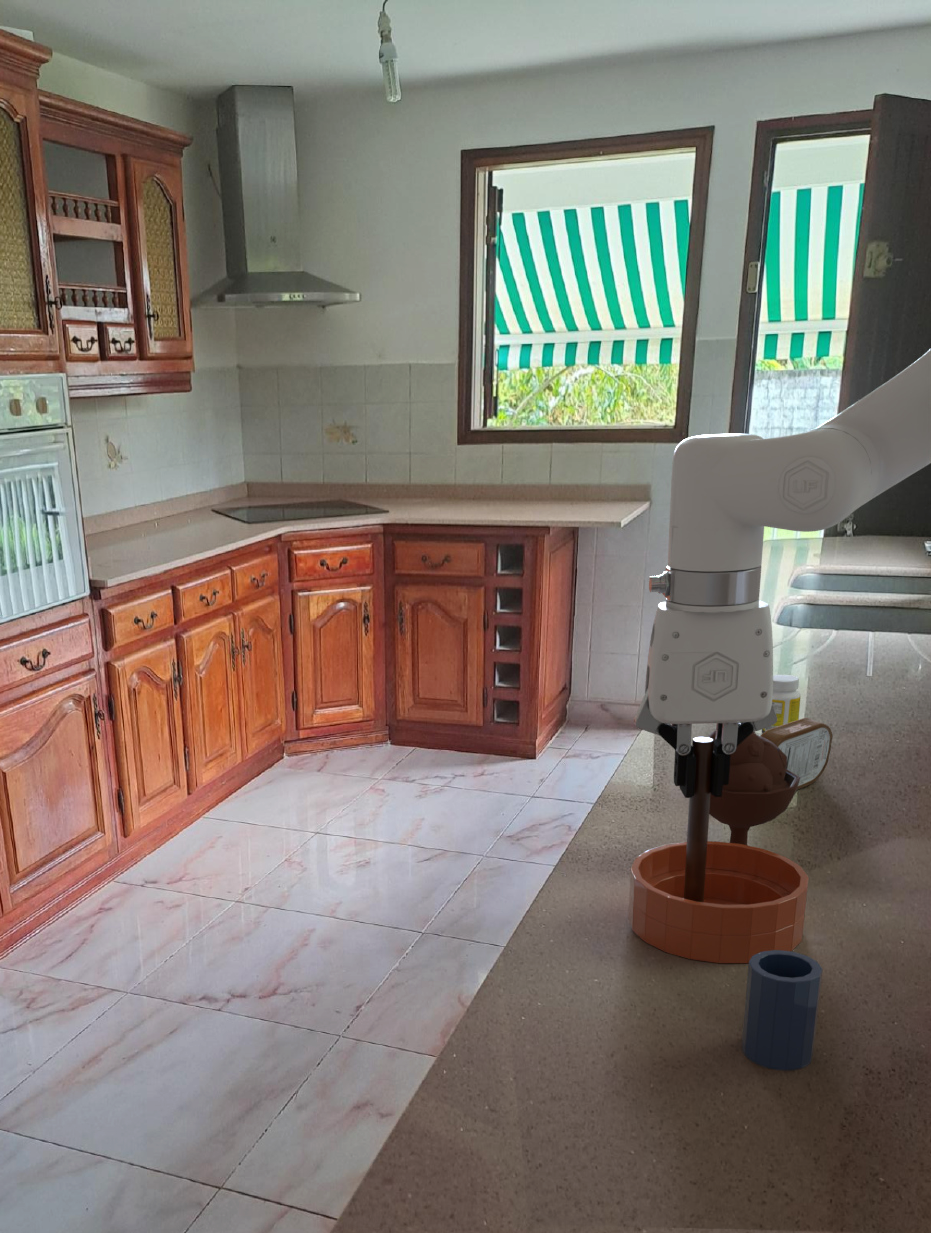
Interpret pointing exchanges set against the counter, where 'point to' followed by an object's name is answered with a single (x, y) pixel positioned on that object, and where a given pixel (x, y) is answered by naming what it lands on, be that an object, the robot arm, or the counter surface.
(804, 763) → the tin
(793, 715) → the supplement bottle
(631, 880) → the mixing bowl
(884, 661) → the counter surface
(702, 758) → the stirring stick
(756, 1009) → the utensil pot
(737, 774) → the ice cream bowl
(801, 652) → the counter surface
